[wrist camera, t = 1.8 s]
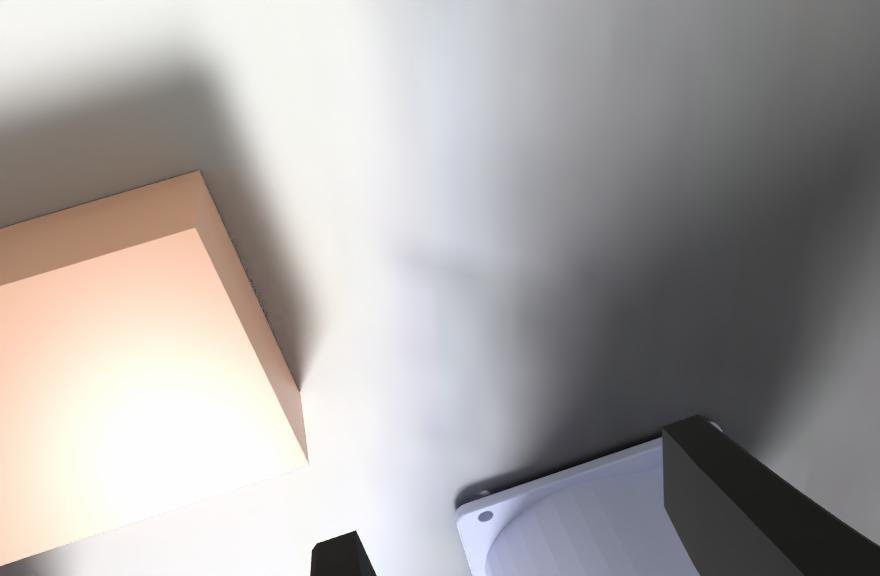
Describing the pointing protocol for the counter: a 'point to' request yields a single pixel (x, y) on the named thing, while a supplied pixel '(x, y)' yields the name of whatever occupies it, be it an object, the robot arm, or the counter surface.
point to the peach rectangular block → (132, 368)
